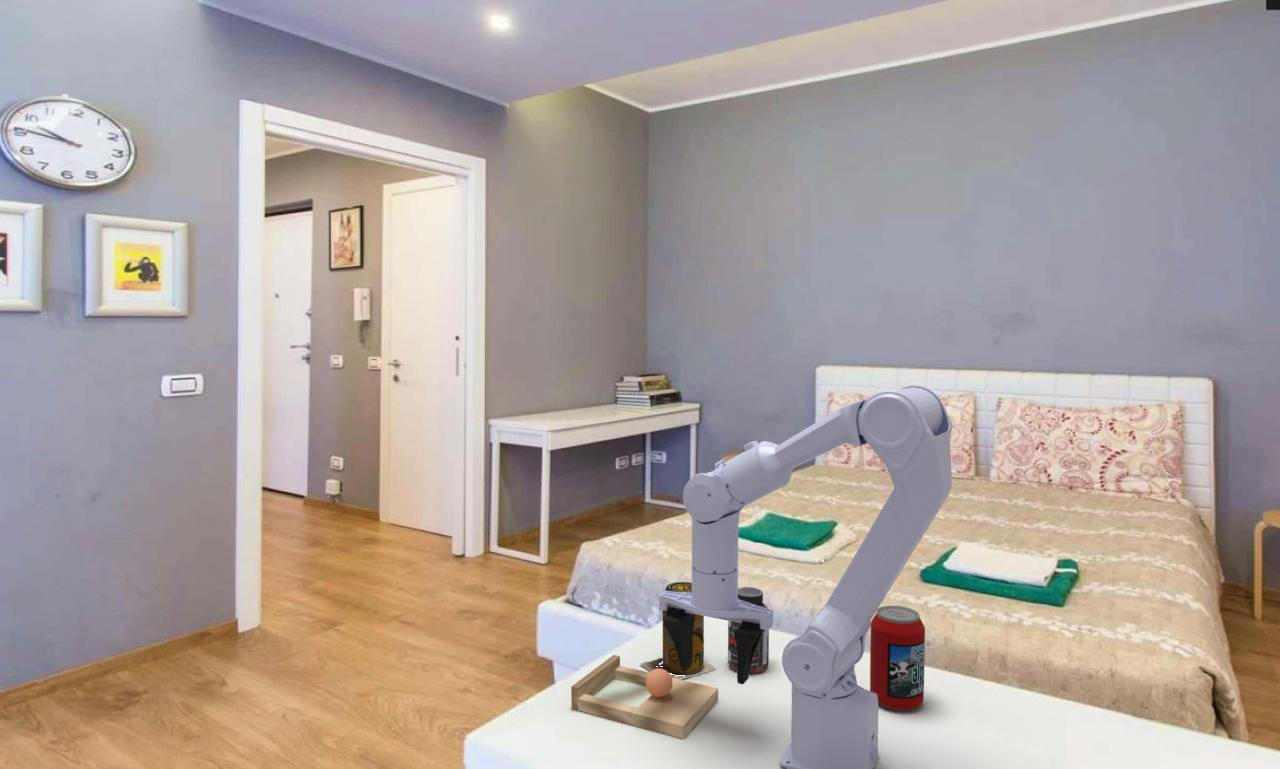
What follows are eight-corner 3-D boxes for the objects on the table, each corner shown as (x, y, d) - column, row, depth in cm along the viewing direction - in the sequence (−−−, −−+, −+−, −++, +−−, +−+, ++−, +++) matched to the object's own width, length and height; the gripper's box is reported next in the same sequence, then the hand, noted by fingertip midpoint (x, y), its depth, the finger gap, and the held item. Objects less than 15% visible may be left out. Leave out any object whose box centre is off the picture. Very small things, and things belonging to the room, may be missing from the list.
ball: (677, 693, 100) (677, 667, 100) (665, 704, 97) (665, 678, 97) (653, 687, 102) (653, 662, 102) (641, 698, 99) (640, 672, 98)
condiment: (716, 669, 111) (716, 588, 110) (668, 685, 106) (668, 600, 105) (686, 652, 117) (685, 575, 116) (639, 666, 112) (639, 586, 111)
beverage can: (905, 719, 96) (907, 626, 95) (859, 700, 101) (860, 611, 101) (933, 703, 100) (935, 613, 100) (888, 685, 106) (889, 600, 105)
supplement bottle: (724, 672, 110) (724, 595, 109) (731, 656, 115) (731, 582, 115) (766, 678, 108) (766, 599, 107) (771, 660, 114) (771, 586, 113)
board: (718, 700, 102) (718, 678, 101) (683, 739, 92) (683, 714, 92) (614, 675, 109) (613, 654, 109) (571, 708, 99) (571, 686, 99)
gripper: (781, 567, 95) (780, 673, 96) (675, 551, 101) (675, 650, 102) (762, 583, 88) (761, 697, 89) (651, 565, 95) (651, 671, 96)
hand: (714, 674), depth 95 cm, fingers open, 7 cm apart
